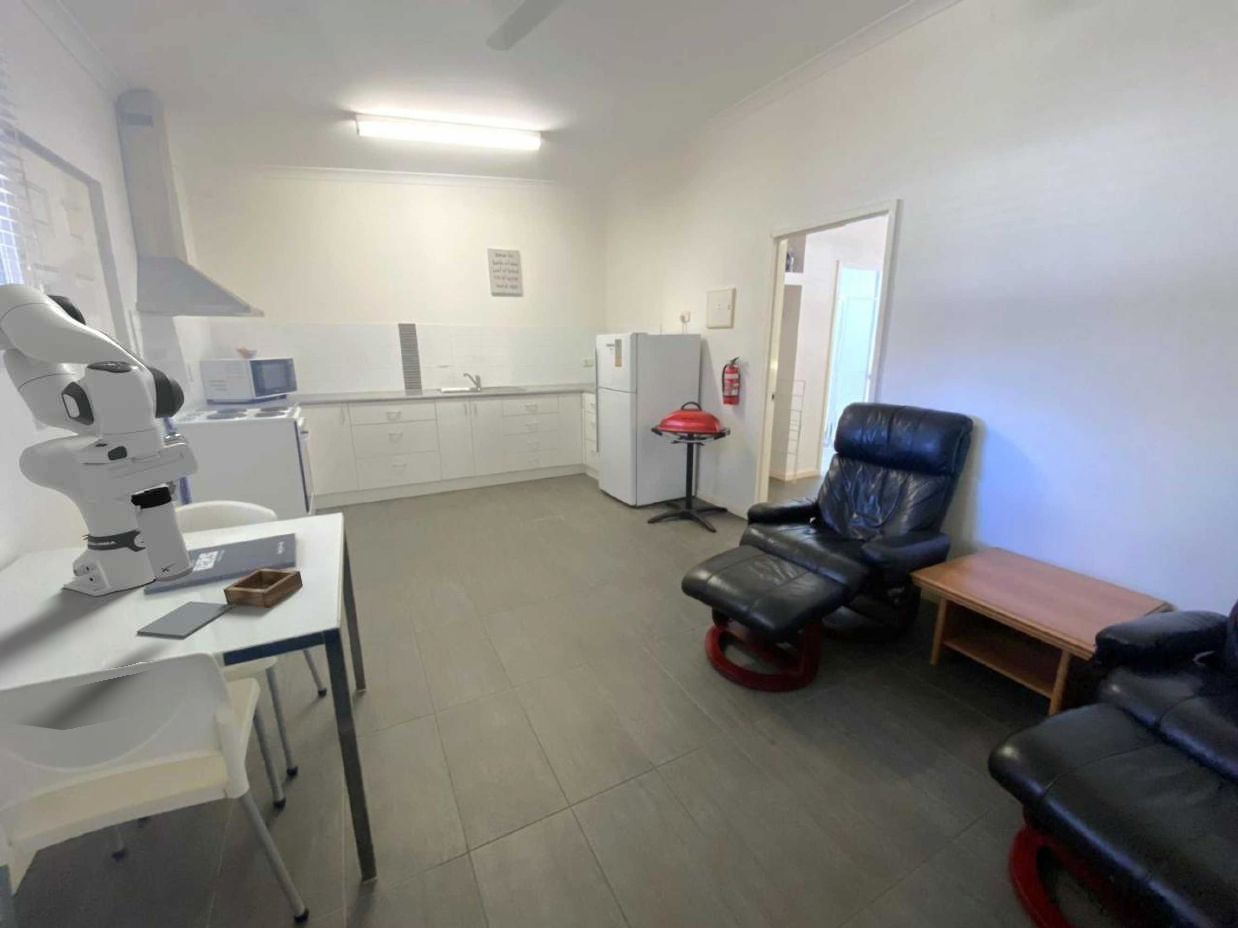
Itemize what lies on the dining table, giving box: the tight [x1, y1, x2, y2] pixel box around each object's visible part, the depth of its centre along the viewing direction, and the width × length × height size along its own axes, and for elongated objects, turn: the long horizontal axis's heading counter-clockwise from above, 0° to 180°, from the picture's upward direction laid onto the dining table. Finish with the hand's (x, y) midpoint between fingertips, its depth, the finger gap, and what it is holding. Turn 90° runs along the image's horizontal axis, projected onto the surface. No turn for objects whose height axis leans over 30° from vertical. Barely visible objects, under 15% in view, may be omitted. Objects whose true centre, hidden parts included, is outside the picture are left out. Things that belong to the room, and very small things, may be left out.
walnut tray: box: [222, 567, 303, 609], centre depth 124 cm, size 11×10×4 cm
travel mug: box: [130, 486, 193, 583], centre depth 109 cm, size 6×7×20 cm
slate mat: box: [136, 600, 235, 639], centre depth 115 cm, size 12×12×1 cm
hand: (154, 507), depth 107 cm, fingers closed on travel mug, 6 cm apart
